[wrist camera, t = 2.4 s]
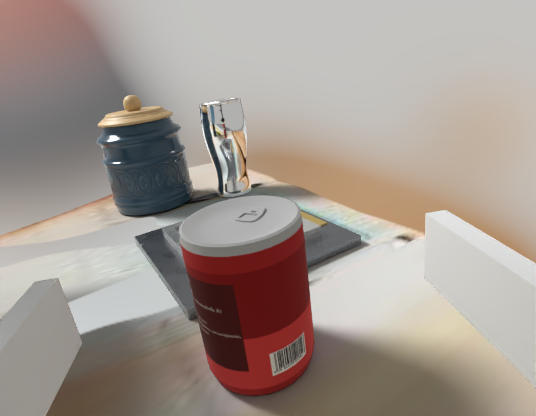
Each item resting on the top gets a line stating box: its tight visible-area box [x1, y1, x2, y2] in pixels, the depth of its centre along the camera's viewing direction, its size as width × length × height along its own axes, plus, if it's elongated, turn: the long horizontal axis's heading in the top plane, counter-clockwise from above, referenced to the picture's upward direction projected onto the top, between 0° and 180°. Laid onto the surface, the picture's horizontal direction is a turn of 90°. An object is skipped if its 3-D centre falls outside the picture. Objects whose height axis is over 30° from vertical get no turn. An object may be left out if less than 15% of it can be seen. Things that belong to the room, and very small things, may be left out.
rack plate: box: [135, 195, 361, 320], centre depth 44 cm, size 20×20×2 cm
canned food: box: [179, 195, 314, 396], centre depth 25 cm, size 8×8×11 cm
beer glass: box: [199, 98, 252, 197], centre depth 61 cm, size 7×7×15 cm
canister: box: [97, 95, 193, 216], centre depth 61 cm, size 13×13×18 cm
